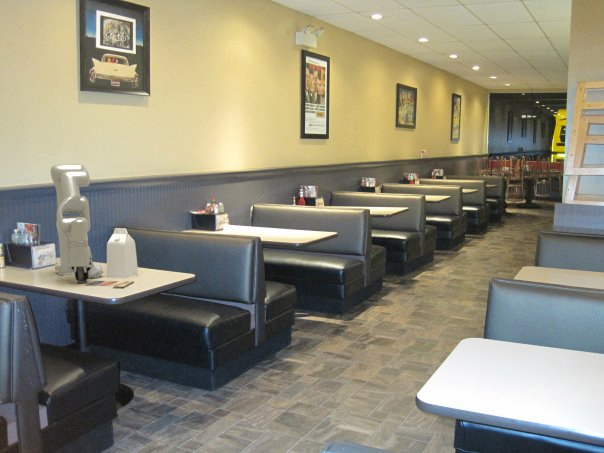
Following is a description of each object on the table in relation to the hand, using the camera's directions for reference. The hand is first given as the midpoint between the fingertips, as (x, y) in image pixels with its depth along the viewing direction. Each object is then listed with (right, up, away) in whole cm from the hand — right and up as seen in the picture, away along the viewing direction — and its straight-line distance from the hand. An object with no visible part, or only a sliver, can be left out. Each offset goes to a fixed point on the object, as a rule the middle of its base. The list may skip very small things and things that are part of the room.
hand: (82, 279), depth 302 cm
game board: (+11, -3, -1) cm, 11 cm away
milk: (+15, 0, +18) cm, 24 cm away
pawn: (0, -2, 0) cm, 2 cm away
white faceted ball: (+1, -1, +14) cm, 14 cm away
